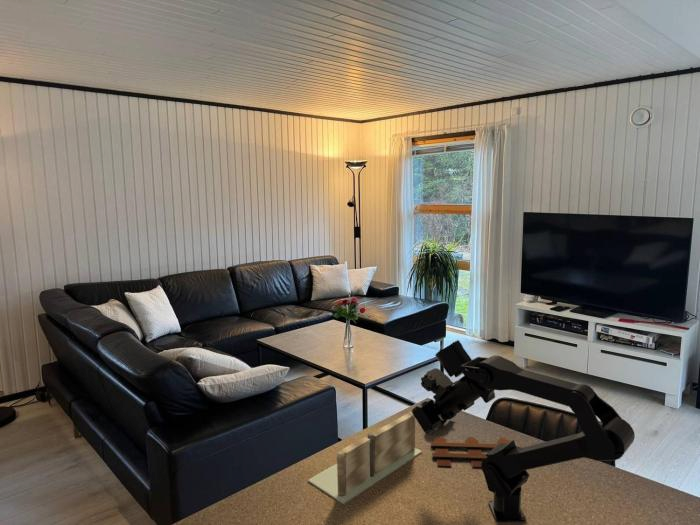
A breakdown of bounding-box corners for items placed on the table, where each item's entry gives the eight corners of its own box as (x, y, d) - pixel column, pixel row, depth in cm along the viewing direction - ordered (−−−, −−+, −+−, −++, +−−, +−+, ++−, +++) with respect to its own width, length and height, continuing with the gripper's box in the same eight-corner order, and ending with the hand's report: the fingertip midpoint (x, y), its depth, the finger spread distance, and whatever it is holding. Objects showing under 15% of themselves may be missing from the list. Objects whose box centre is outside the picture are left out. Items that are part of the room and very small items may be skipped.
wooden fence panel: (341, 497, 113) (340, 454, 111) (336, 494, 114) (335, 451, 112) (375, 475, 121) (375, 435, 119) (370, 472, 122) (369, 432, 120)
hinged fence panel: (376, 473, 121) (375, 436, 119) (371, 471, 122) (370, 433, 120) (416, 448, 132) (416, 413, 130) (411, 445, 133) (411, 411, 132)
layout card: (343, 504, 111) (343, 502, 111) (308, 481, 120) (308, 479, 120) (421, 452, 131) (421, 450, 131) (386, 436, 140) (386, 434, 140)
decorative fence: (526, 472, 122) (512, 441, 137) (526, 466, 122) (512, 435, 137) (433, 469, 125) (429, 439, 139) (433, 463, 124) (429, 433, 139)
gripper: (464, 352, 121) (428, 382, 130) (418, 374, 108) (381, 405, 117) (492, 391, 116) (452, 419, 126) (448, 418, 103) (407, 447, 113)
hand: (424, 421), depth 121 cm, fingers closed
